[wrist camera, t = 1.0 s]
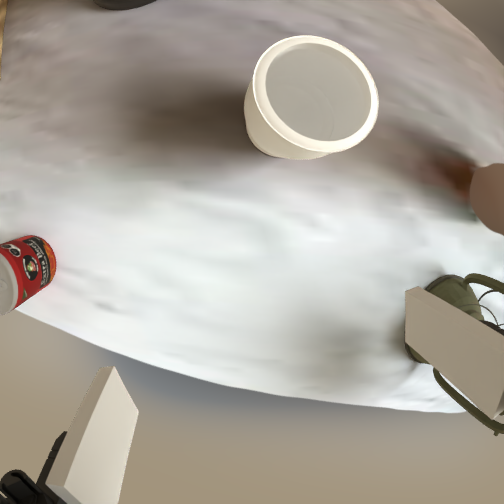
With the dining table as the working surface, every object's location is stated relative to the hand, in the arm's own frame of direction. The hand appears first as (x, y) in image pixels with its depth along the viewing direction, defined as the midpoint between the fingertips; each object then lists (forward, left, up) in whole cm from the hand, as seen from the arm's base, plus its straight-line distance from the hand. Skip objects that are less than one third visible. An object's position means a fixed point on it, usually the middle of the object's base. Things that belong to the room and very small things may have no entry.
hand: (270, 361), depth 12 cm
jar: (-13, +10, -26) cm, 31 cm away
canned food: (-6, -27, -26) cm, 38 cm away
